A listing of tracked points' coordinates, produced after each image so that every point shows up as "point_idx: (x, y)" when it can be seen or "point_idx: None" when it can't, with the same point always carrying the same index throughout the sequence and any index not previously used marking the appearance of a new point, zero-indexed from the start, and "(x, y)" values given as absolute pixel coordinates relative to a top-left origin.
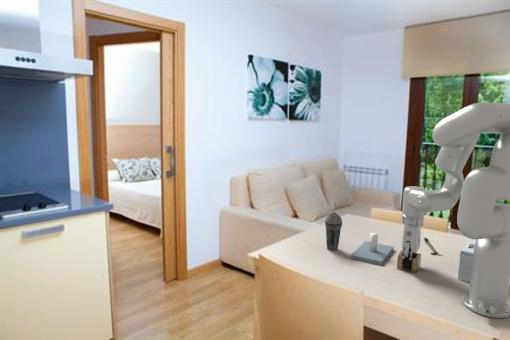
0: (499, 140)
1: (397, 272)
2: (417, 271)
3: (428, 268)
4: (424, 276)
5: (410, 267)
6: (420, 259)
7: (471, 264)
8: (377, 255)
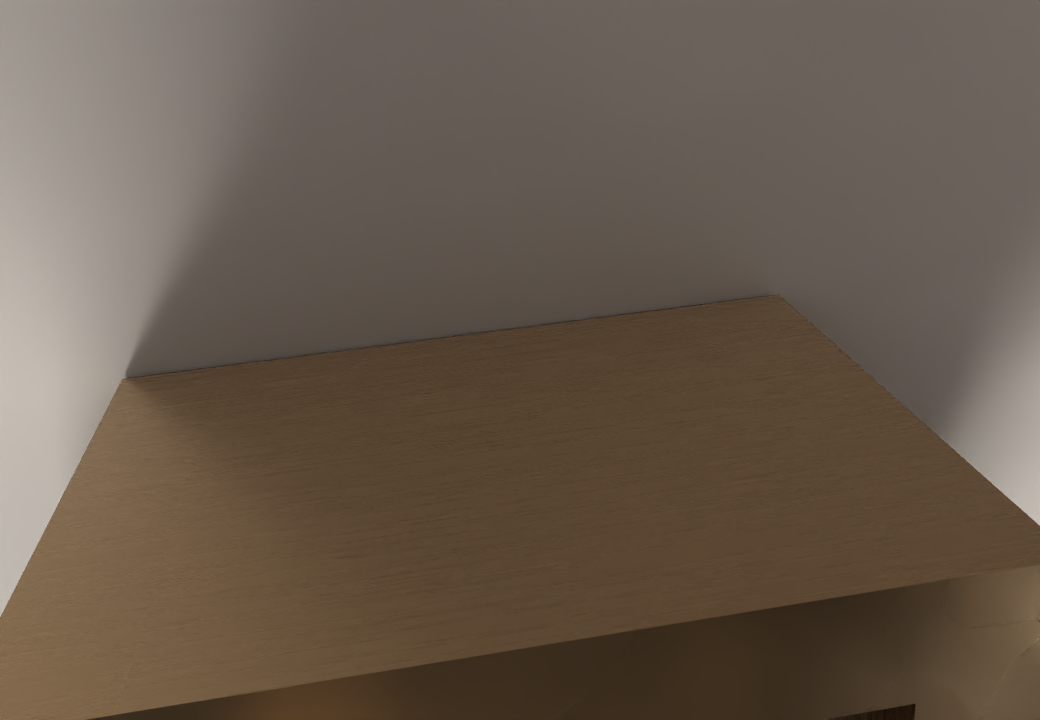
0: None
1: None
2: (702, 313)
3: (41, 93)
4: (935, 20)
5: None
6: (154, 537)
7: None
8: None
